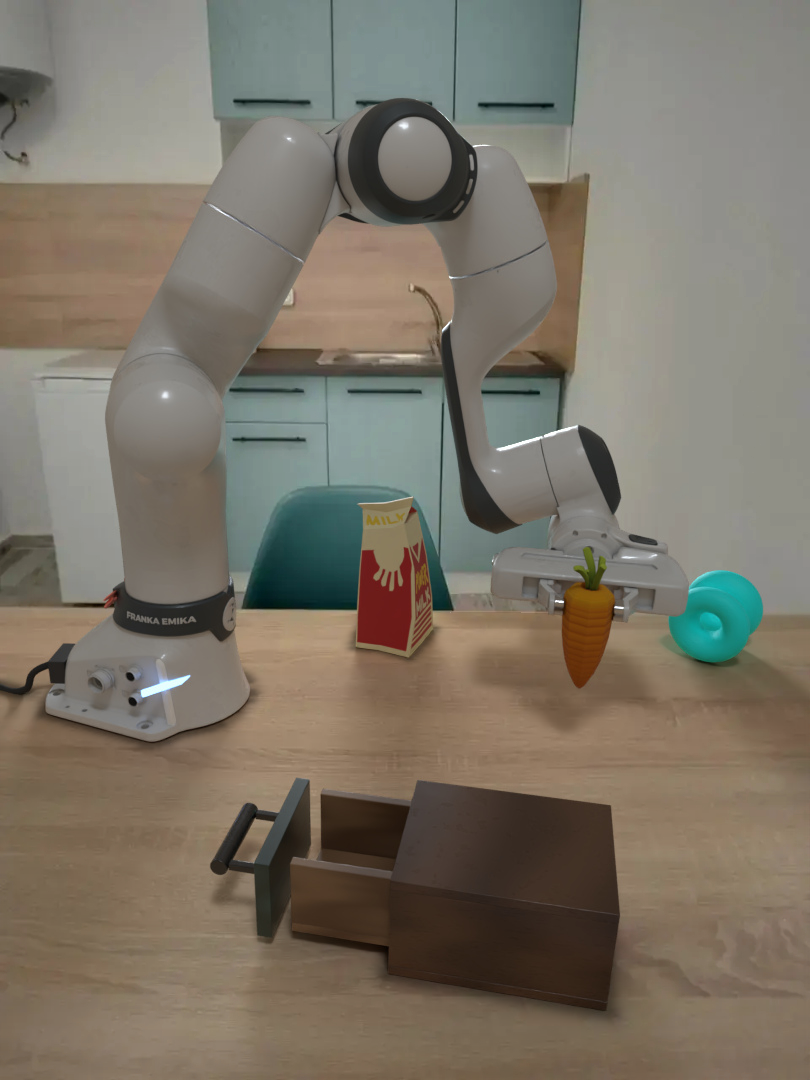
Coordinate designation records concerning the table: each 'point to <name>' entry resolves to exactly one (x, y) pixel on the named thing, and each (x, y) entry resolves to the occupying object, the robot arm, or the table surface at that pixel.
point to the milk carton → (393, 580)
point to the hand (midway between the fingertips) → (588, 612)
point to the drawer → (322, 863)
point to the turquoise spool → (717, 616)
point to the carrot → (586, 620)
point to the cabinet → (506, 894)
